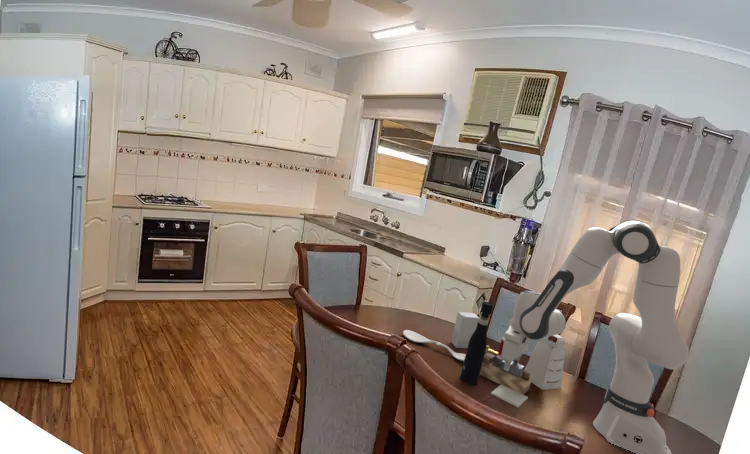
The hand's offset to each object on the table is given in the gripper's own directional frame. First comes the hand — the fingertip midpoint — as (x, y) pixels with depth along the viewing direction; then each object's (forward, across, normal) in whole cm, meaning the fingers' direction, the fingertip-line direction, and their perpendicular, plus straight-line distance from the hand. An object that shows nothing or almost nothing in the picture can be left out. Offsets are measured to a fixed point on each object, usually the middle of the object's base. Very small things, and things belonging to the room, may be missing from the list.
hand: (510, 366), depth 162 cm
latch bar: (-2, -1, -9) cm, 9 cm away
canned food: (+7, -17, -6) cm, 19 cm away
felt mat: (+7, +8, +4) cm, 12 cm away
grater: (+7, -17, +9) cm, 20 cm away
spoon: (+8, -2, -31) cm, 32 cm away
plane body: (+7, -1, -2) cm, 7 cm away
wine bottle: (+8, +11, -10) cm, 17 cm away
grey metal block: (+2, -1, 0) cm, 2 cm away
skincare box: (+7, -16, -26) cm, 32 cm away
